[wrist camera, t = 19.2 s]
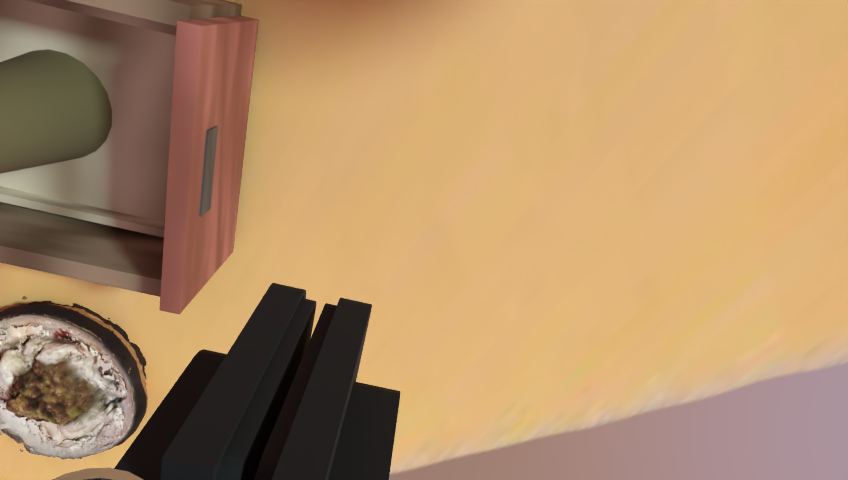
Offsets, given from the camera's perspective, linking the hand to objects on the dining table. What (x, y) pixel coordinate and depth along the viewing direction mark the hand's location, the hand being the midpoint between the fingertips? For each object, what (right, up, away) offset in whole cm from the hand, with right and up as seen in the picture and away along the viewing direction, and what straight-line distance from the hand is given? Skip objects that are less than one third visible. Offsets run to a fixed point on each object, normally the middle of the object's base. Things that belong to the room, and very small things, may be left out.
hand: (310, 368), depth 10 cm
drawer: (-16, +9, +24) cm, 31 cm away
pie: (-24, -7, +33) cm, 41 cm away
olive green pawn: (-19, +10, +23) cm, 31 cm away
